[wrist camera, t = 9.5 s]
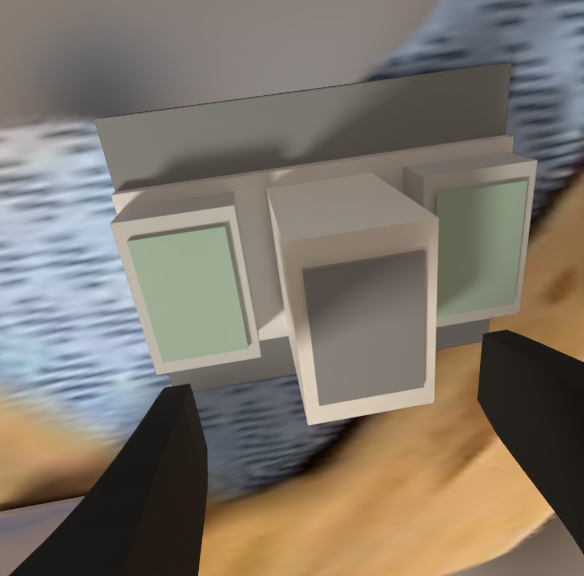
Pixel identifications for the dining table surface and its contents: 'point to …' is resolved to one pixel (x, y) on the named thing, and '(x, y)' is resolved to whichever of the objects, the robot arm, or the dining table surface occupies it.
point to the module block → (357, 294)
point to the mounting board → (301, 169)
